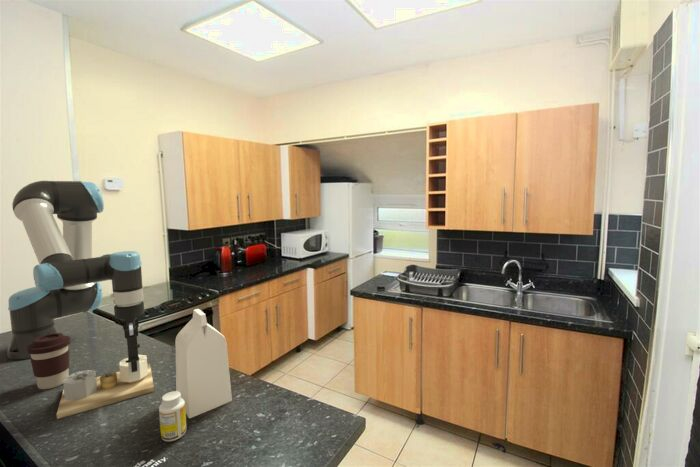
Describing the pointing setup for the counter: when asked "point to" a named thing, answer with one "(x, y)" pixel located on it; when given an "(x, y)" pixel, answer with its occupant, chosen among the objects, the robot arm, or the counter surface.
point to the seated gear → (80, 385)
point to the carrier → (106, 393)
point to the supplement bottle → (172, 416)
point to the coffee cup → (50, 359)
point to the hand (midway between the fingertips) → (134, 374)
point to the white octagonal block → (125, 368)
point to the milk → (202, 366)
